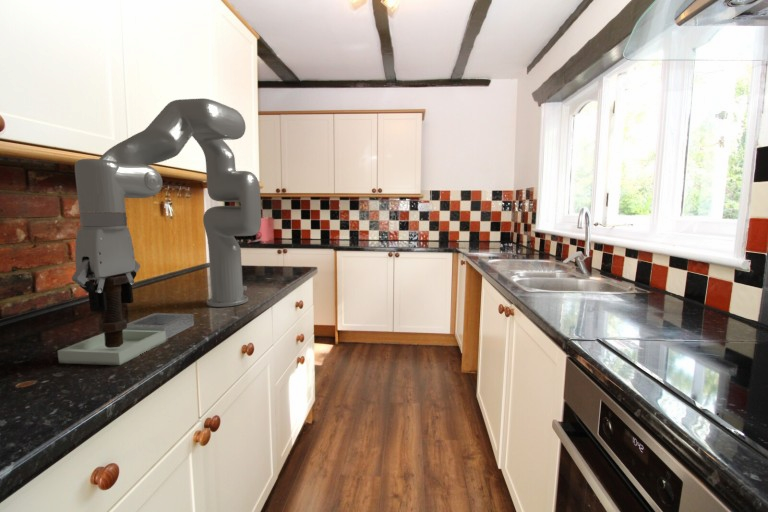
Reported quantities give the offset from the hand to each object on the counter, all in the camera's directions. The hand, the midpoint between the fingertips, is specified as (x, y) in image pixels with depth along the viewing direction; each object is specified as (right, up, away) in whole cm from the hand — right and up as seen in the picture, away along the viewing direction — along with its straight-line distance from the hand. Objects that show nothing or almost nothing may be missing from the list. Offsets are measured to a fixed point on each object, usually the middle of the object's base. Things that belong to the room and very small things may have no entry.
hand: (112, 306), depth 75 cm
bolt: (0, -9, 0) cm, 9 cm away
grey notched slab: (+1, -8, +14) cm, 16 cm away
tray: (0, -10, +1) cm, 10 cm away
